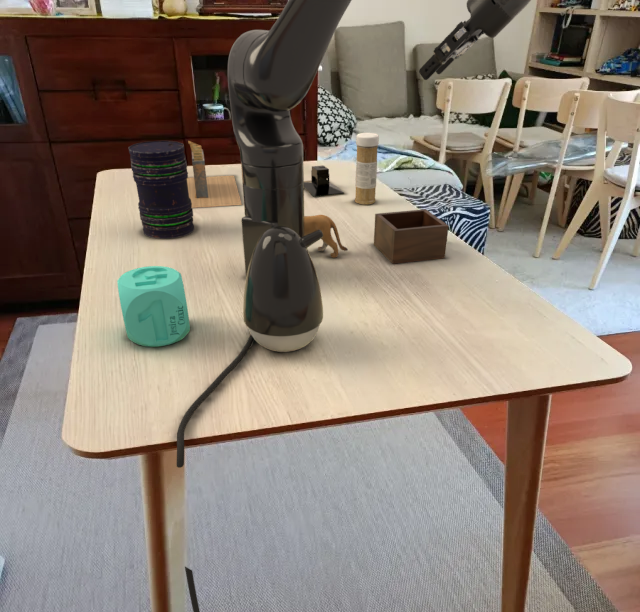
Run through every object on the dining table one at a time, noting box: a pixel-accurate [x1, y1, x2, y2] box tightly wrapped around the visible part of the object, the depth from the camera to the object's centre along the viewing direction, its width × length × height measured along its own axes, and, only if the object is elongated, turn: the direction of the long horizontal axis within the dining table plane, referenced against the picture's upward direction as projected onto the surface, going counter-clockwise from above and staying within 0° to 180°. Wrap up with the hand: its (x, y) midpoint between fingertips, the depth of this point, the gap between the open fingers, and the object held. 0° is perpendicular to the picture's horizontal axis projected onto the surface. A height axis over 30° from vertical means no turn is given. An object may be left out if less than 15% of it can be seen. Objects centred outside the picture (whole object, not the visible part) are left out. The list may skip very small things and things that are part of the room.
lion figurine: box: [304, 214, 349, 259], centre depth 104 cm, size 15×5×9 cm, turn 92°
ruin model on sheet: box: [187, 140, 243, 209], centre depth 136 cm, size 25×16×10 cm, turn 11°
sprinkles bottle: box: [354, 132, 380, 205], centre depth 127 cm, size 5×5×13 cm
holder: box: [373, 208, 450, 265], centre depth 106 cm, size 10×10×6 cm
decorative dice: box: [116, 265, 191, 348], centre depth 80 cm, size 8×8×8 cm
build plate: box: [304, 165, 345, 198], centre depth 139 cm, size 12×7×5 cm, turn 20°
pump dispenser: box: [242, 226, 324, 353], centre depth 76 cm, size 10×10×15 cm
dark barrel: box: [128, 140, 195, 240], centre depth 112 cm, size 10×10×15 cm
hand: (429, 73), depth 113 cm, fingers open, 8 cm apart
